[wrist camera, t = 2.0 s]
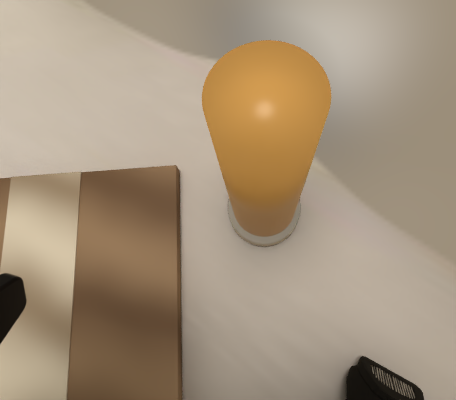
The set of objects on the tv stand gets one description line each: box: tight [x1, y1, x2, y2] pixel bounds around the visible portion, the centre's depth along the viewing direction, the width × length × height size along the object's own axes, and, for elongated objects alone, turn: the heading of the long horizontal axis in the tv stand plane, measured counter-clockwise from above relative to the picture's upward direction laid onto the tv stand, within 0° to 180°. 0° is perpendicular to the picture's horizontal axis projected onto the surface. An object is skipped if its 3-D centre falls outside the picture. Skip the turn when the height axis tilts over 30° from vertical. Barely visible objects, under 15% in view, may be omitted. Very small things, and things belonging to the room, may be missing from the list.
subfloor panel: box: [0, 165, 182, 400], centre depth 21 cm, size 16×12×1 cm
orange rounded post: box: [202, 40, 331, 247], centre depth 16 cm, size 4×4×13 cm
